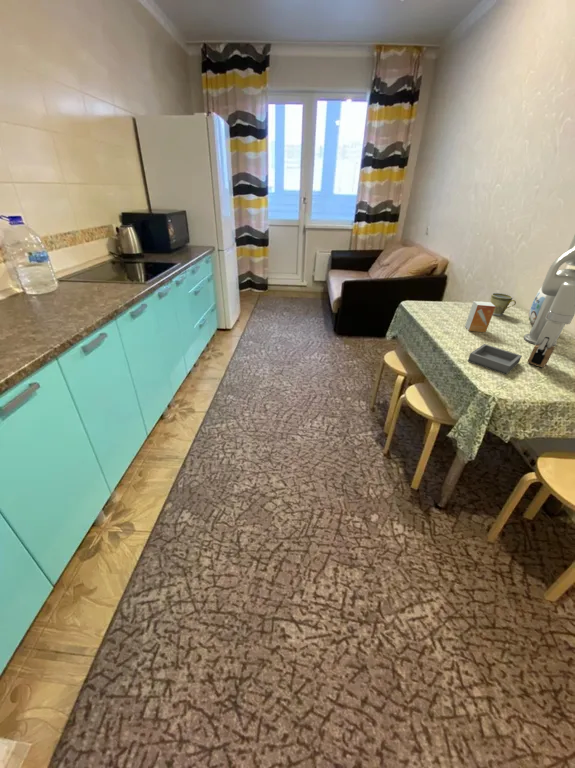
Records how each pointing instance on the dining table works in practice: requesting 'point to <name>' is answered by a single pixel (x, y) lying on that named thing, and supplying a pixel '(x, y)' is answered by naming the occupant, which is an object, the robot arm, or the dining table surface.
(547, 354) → the wooden block
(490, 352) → the tray
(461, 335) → the dining table surface
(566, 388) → the dining table surface
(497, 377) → the dining table surface
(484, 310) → the small box
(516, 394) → the dining table surface
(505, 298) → the ceramic cup
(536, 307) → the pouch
